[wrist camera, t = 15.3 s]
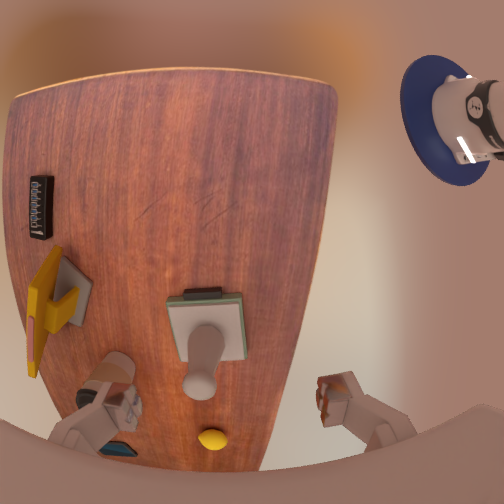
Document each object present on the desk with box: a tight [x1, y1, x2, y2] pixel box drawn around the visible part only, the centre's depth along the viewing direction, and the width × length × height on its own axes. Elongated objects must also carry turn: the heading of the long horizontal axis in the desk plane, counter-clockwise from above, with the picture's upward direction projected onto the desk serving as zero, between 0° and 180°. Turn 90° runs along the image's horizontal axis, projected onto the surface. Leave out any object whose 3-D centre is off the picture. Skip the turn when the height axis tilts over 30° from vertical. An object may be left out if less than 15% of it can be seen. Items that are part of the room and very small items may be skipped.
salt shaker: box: [182, 325, 225, 400], centre depth 36 cm, size 6×6×13 cm
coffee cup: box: [76, 351, 136, 409], centre depth 40 cm, size 9×9×15 cm
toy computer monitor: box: [27, 245, 93, 378], centre depth 35 cm, size 20×8×16 cm, turn 151°
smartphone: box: [99, 442, 137, 457], centre depth 57 cm, size 8×15×1 cm, turn 109°
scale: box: [166, 287, 248, 362], centre depth 43 cm, size 12×13×3 cm
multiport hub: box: [29, 175, 54, 240], centre depth 36 cm, size 4×11×2 cm, turn 170°
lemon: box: [198, 429, 228, 450], centre depth 52 cm, size 7×5×5 cm
